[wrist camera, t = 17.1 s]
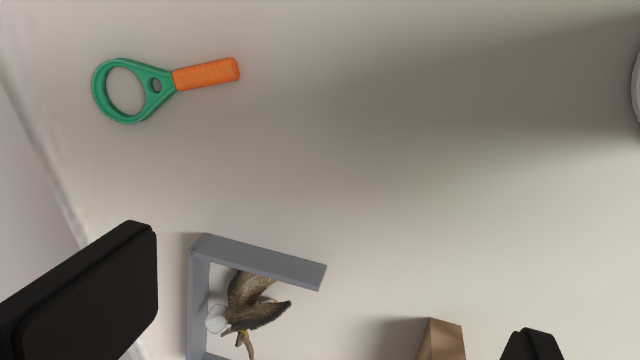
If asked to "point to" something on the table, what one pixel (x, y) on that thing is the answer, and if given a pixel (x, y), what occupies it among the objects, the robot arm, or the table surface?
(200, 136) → the table surface
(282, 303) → the eagle figurine
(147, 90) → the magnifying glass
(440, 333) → the brown rectangular block
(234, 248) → the grey bent bar
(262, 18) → the table surface
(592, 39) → the table surface
